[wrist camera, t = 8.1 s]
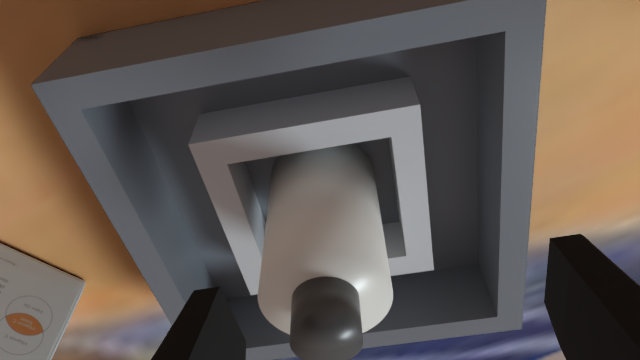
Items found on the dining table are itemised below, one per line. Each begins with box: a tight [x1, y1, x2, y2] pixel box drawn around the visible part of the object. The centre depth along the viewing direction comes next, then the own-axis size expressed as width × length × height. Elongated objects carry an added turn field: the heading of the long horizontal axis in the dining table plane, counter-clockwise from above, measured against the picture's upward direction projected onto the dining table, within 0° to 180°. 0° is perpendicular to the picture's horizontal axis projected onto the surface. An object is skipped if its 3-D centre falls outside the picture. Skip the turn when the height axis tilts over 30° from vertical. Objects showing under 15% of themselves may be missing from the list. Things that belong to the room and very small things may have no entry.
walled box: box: [31, 0, 546, 360], centre depth 19 cm, size 14×14×4 cm
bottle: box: [258, 143, 393, 360], centre depth 17 cm, size 4×4×8 cm
